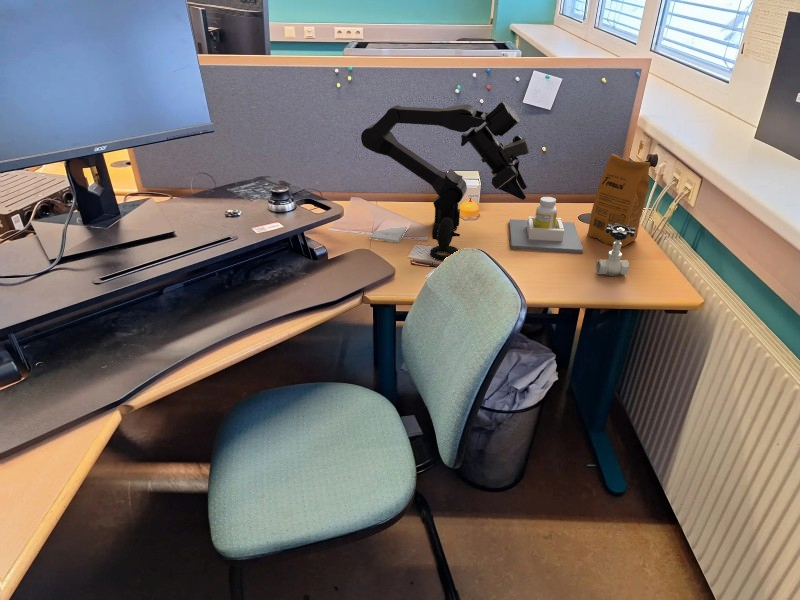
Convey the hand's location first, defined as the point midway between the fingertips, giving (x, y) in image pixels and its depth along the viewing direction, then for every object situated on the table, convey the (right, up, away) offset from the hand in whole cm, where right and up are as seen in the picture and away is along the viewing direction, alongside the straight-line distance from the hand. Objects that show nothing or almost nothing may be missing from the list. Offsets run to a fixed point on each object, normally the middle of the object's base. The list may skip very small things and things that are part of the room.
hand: (525, 193), depth 145 cm
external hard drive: (-36, -10, +7) cm, 38 cm away
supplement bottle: (+6, -10, +4) cm, 12 cm away
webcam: (-22, -17, -5) cm, 28 cm away
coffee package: (+24, -12, +4) cm, 27 cm away
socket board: (+6, -11, +4) cm, 13 cm away
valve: (+17, -22, -14) cm, 32 cm away
